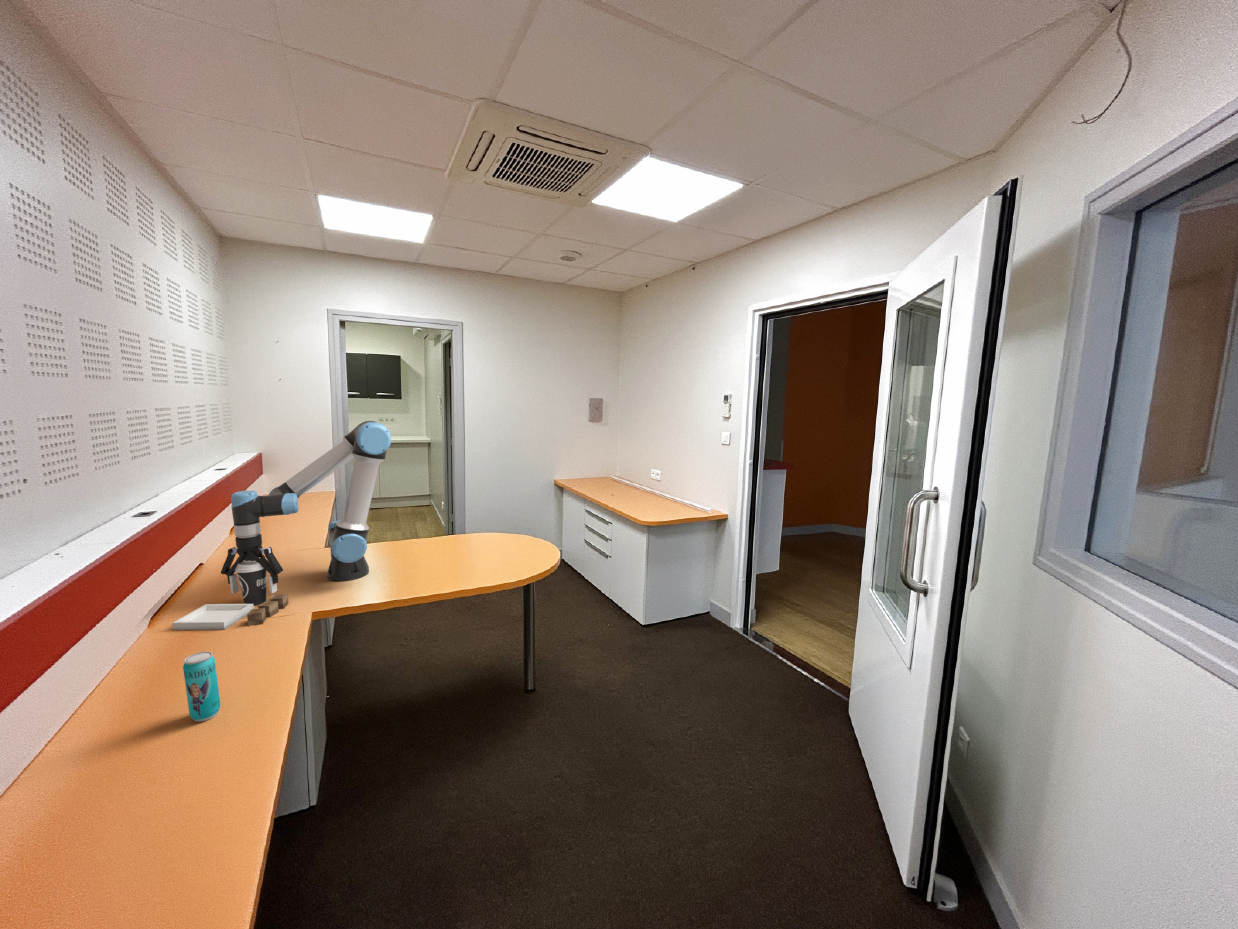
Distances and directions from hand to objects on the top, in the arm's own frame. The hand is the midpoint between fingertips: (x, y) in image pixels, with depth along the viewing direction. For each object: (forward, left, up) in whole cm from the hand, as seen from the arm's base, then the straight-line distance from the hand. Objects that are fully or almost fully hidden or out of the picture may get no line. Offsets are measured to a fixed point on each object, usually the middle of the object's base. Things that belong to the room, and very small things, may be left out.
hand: (254, 592), depth 185 cm
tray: (+4, +14, -4) cm, 15 cm away
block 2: (-11, +10, -4) cm, 15 cm away
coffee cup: (0, 0, -4) cm, 4 cm away
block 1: (-11, +16, -4) cm, 20 cm away
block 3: (-11, +4, -4) cm, 12 cm away
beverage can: (-31, +65, -4) cm, 72 cm away
